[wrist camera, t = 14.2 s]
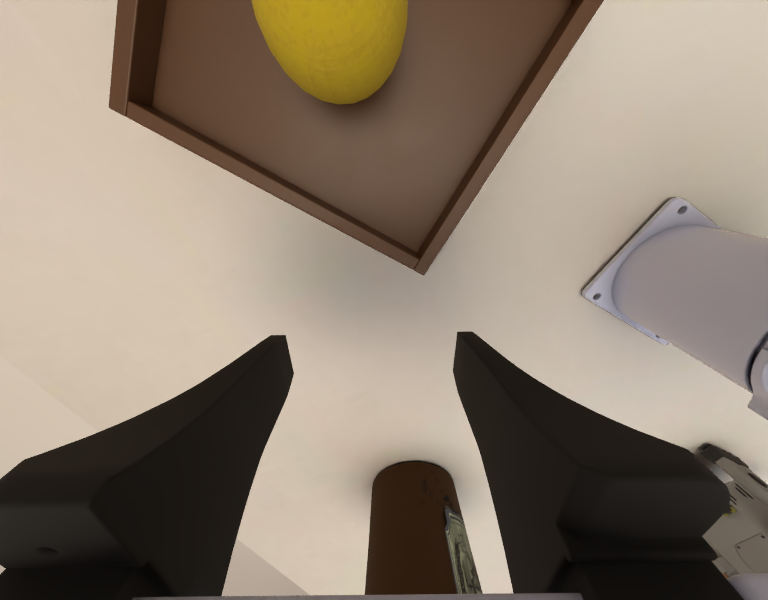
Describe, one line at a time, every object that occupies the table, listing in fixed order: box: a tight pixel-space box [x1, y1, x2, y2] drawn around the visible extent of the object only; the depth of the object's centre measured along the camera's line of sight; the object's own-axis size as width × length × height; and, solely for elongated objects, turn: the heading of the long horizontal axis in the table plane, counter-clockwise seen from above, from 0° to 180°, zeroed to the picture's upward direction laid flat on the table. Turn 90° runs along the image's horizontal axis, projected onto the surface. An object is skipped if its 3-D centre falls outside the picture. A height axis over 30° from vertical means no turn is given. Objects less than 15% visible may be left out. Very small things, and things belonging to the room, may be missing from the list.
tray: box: [109, 0, 604, 275], centre depth 14 cm, size 19×16×2 cm
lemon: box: [251, 0, 408, 105], centre depth 10 cm, size 6×6×8 cm
